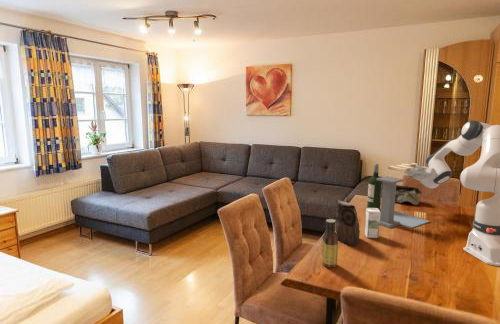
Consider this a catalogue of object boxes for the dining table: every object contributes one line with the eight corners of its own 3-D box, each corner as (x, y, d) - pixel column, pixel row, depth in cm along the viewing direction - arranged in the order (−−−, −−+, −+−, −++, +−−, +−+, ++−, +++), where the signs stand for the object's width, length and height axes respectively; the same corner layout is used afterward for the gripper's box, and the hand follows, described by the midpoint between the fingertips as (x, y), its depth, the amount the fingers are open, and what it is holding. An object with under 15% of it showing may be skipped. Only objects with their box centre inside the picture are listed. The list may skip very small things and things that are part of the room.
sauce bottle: (326, 260, 144) (327, 216, 140) (339, 264, 140) (341, 219, 136) (318, 265, 139) (320, 220, 135) (332, 270, 135) (334, 223, 131)
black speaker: (357, 247, 156) (359, 207, 153) (330, 243, 161) (332, 203, 158) (360, 238, 167) (362, 200, 164) (335, 234, 172) (336, 197, 169)
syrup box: (375, 234, 172) (377, 207, 170) (378, 238, 166) (380, 211, 164) (364, 233, 173) (365, 207, 170) (367, 238, 167) (368, 210, 165)
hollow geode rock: (376, 205, 237) (374, 194, 227) (379, 190, 244) (377, 179, 233) (420, 210, 223) (420, 198, 213) (422, 194, 229) (421, 182, 219)
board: (407, 165, 201) (407, 162, 200) (423, 168, 192) (424, 164, 192) (388, 168, 190) (388, 165, 190) (404, 171, 182) (404, 168, 182)
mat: (392, 211, 210) (392, 210, 210) (429, 222, 190) (429, 221, 190) (374, 216, 200) (374, 215, 200) (411, 228, 180) (411, 227, 180)
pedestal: (384, 219, 194) (387, 176, 190) (399, 224, 186) (403, 179, 182) (373, 222, 189) (376, 178, 185) (389, 228, 181) (392, 181, 176)
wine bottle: (364, 208, 216) (367, 162, 211) (374, 207, 218) (377, 162, 213) (372, 211, 208) (375, 165, 203) (382, 210, 211) (386, 164, 206)
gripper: (437, 182, 193) (427, 172, 185) (404, 175, 210) (394, 167, 202) (441, 172, 194) (431, 162, 186) (408, 166, 211) (398, 157, 203)
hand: (412, 164), depth 194 cm, fingers closed on board, 3 cm apart
